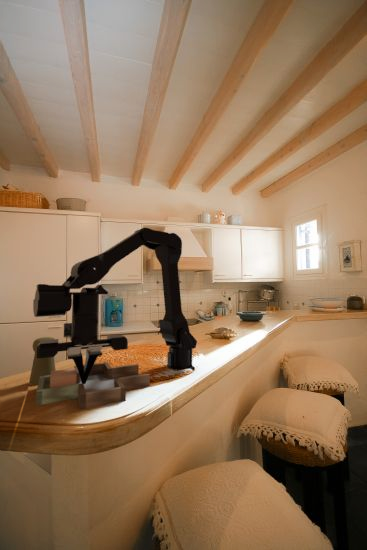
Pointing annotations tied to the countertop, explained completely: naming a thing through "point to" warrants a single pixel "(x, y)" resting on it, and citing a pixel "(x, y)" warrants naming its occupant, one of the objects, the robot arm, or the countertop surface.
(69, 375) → the block
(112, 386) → the trap lane
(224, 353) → the countertop surface
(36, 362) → the olive green pepper mill
